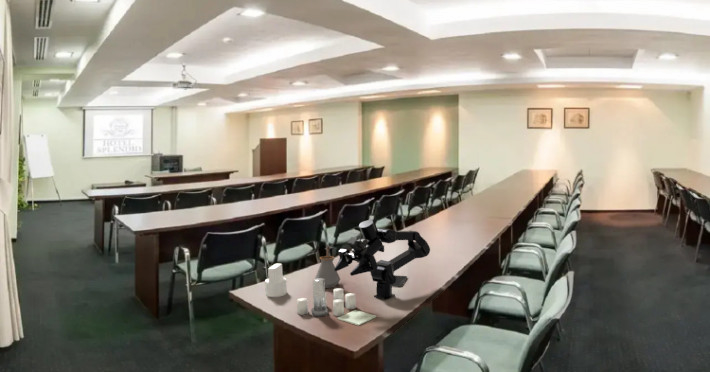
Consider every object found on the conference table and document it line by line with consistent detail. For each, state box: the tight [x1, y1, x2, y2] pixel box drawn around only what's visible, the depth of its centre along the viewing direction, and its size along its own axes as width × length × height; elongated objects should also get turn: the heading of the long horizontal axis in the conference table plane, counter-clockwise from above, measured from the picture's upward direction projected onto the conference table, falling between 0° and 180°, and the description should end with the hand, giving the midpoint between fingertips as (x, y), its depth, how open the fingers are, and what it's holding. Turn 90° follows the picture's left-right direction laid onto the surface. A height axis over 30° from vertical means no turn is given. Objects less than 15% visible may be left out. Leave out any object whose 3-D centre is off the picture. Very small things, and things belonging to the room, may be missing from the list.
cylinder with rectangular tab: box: [264, 263, 288, 298], centre depth 196 cm, size 9×9×12 cm
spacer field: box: [296, 287, 357, 317], centre depth 175 cm, size 21×16×5 cm
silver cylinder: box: [311, 278, 329, 318], centre depth 170 cm, size 6×6×13 cm
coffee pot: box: [314, 245, 341, 289], centre depth 210 cm, size 21×12×15 cm, turn 0°
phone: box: [392, 274, 408, 288], centre depth 209 cm, size 8×1×15 cm
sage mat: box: [337, 309, 377, 326], centre depth 166 cm, size 10×10×1 cm
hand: (342, 272), depth 172 cm, fingers open, 9 cm apart
